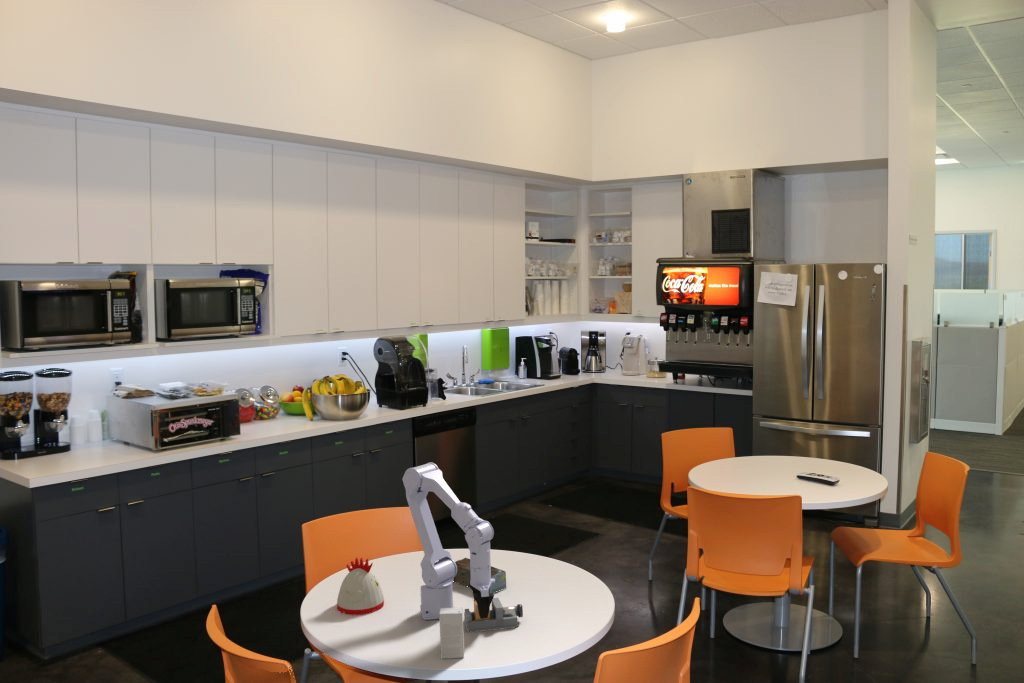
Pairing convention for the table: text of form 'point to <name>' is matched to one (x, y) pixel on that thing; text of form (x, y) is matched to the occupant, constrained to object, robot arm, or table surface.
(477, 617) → the block
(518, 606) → the shaft
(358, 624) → the table surface
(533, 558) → the table surface
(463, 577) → the beverage carton
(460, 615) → the skincare box
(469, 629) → the housing
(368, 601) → the chicken head dome
